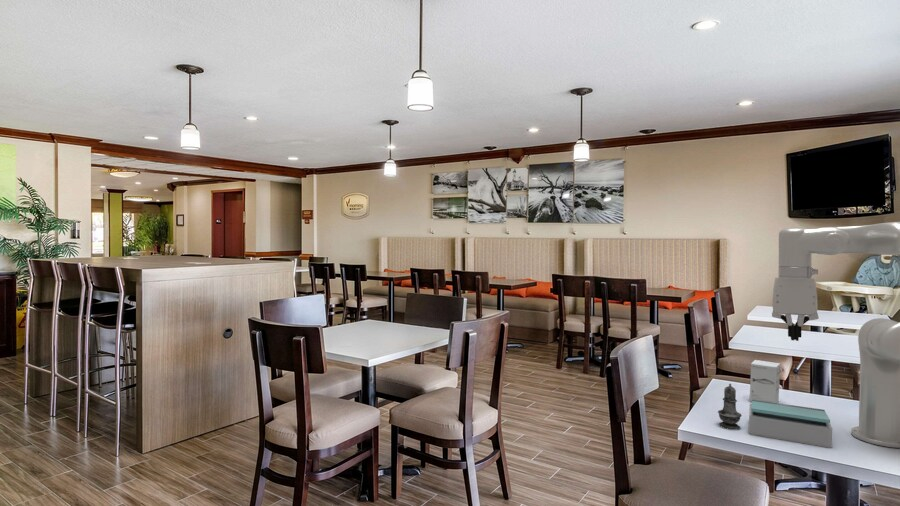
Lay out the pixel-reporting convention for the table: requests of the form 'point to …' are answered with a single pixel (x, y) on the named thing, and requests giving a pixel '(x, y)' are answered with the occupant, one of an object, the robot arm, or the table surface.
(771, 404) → the cover
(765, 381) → the supplement box
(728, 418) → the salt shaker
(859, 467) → the table surface
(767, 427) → the hinged gray case
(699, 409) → the table surface
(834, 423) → the table surface
